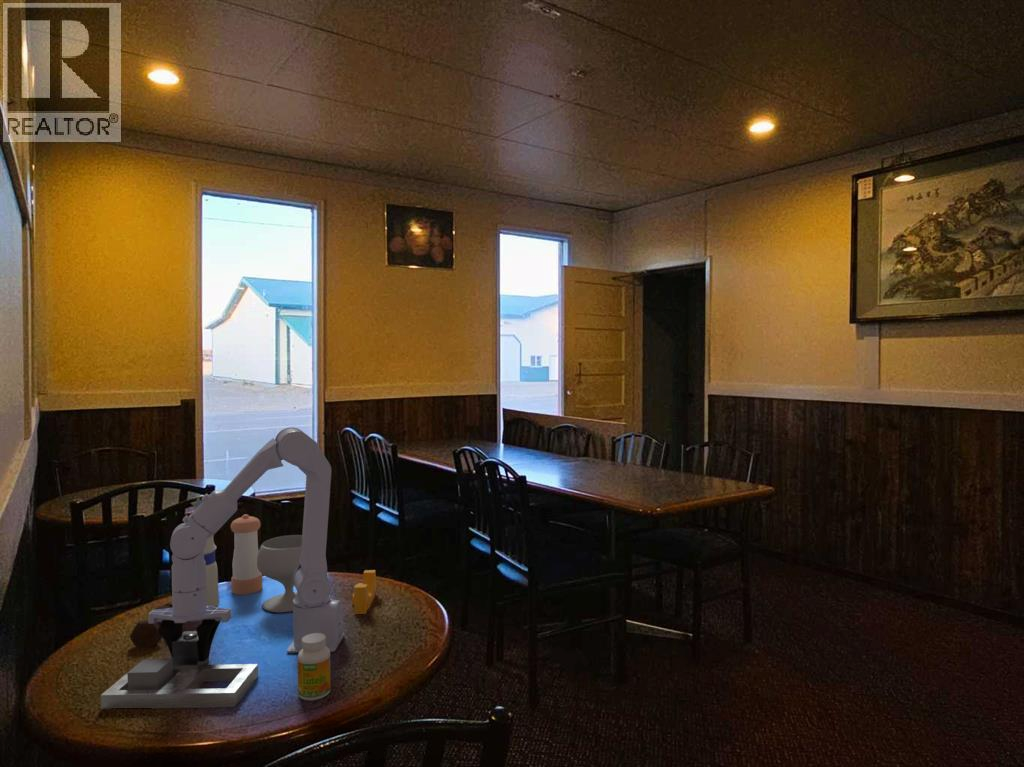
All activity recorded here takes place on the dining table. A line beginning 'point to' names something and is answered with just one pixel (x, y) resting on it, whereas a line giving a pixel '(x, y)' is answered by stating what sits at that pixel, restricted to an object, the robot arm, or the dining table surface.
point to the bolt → (147, 632)
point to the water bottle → (210, 568)
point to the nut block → (187, 649)
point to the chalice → (280, 568)
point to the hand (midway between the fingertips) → (191, 659)
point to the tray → (186, 688)
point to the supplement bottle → (314, 668)
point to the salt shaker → (245, 556)
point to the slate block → (150, 674)
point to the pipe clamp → (364, 592)
